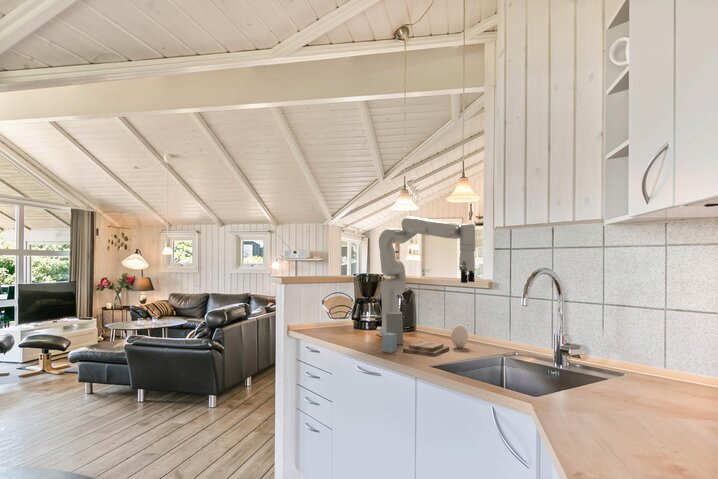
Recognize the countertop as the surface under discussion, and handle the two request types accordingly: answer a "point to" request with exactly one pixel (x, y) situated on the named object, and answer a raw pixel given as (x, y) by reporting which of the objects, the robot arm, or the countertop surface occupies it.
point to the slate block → (389, 342)
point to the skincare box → (395, 325)
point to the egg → (459, 336)
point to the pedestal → (426, 348)
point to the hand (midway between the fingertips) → (467, 282)
